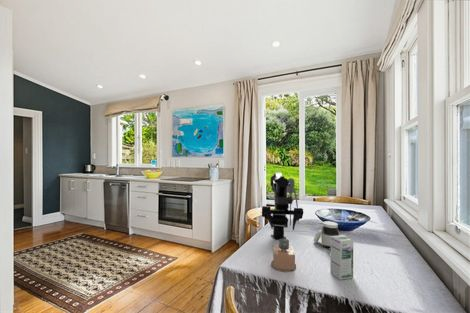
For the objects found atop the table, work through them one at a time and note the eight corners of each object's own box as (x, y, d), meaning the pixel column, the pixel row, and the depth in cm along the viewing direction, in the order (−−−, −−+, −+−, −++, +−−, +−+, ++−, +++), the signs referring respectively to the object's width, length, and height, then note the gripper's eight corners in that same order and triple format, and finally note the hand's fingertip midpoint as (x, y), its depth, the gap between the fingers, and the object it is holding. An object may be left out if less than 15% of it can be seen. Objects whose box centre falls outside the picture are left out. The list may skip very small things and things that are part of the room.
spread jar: (340, 251, 109) (341, 226, 109) (315, 248, 112) (316, 225, 111) (334, 241, 121) (335, 220, 121) (312, 240, 123) (312, 218, 123)
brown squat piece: (270, 259, 100) (271, 244, 99) (294, 260, 98) (294, 246, 98) (271, 270, 90) (271, 254, 90) (297, 272, 88) (298, 256, 88)
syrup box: (340, 280, 83) (341, 240, 83) (329, 272, 89) (330, 235, 89) (353, 278, 85) (354, 239, 85) (341, 270, 91) (342, 234, 90)
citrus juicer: (281, 220, 160) (282, 177, 159) (294, 219, 163) (294, 177, 162) (290, 225, 149) (290, 179, 149) (303, 224, 152) (304, 178, 152)
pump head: (278, 257, 96) (278, 238, 96) (288, 257, 96) (288, 238, 96) (279, 264, 90) (279, 243, 90) (289, 264, 89) (290, 244, 89)
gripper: (262, 189, 108) (261, 219, 97) (303, 190, 105) (307, 221, 94) (262, 202, 116) (261, 231, 105) (300, 203, 113) (303, 233, 102)
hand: (282, 229), depth 101 cm, fingers open, 9 cm apart
